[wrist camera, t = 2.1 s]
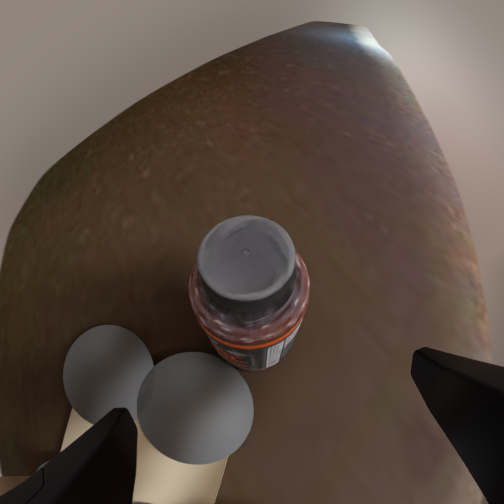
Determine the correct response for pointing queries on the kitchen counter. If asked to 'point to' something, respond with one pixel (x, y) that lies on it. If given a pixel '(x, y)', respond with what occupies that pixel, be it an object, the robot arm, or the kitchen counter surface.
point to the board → (158, 412)
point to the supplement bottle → (249, 291)
